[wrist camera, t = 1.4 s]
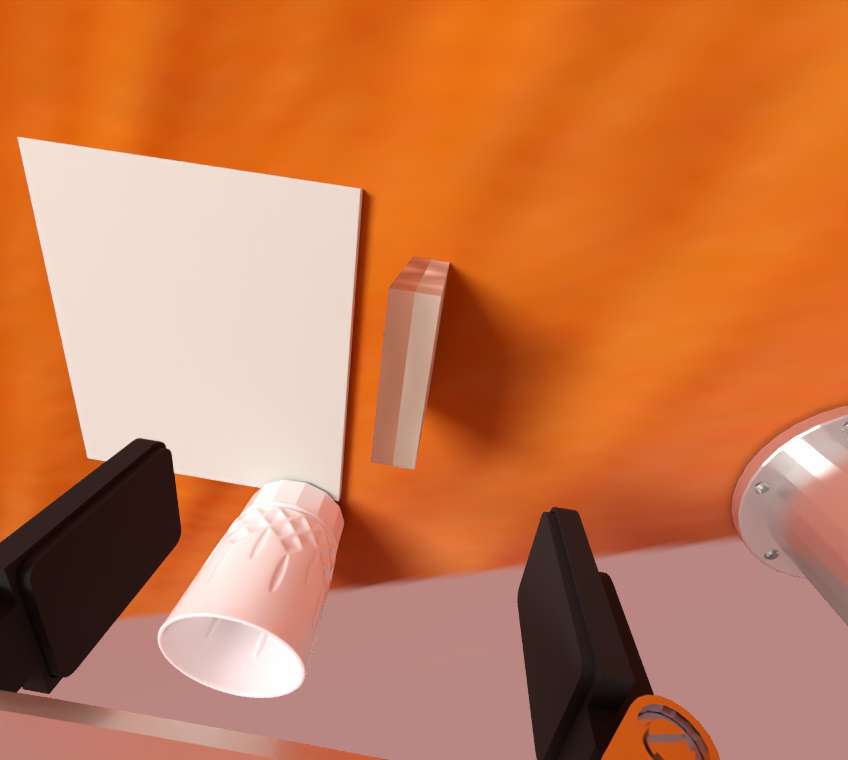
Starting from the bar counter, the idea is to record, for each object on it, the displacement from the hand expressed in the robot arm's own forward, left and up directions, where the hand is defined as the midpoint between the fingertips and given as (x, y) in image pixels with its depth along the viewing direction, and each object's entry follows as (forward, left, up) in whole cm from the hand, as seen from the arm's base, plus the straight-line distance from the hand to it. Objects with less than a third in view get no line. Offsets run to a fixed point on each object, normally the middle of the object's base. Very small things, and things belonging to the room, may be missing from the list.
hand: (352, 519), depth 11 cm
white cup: (+7, +15, -16) cm, 23 cm away
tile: (0, 0, -16) cm, 16 cm away
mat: (+13, +3, -16) cm, 21 cm away
